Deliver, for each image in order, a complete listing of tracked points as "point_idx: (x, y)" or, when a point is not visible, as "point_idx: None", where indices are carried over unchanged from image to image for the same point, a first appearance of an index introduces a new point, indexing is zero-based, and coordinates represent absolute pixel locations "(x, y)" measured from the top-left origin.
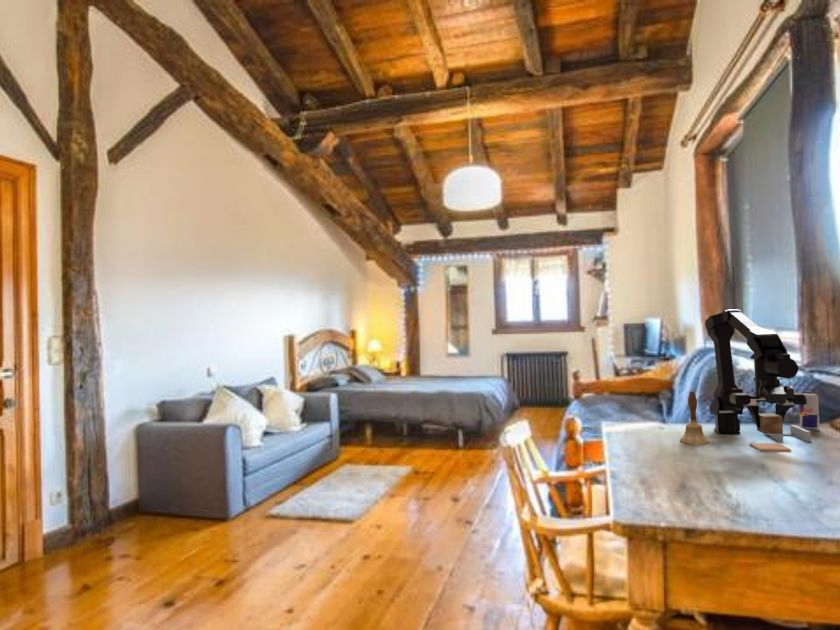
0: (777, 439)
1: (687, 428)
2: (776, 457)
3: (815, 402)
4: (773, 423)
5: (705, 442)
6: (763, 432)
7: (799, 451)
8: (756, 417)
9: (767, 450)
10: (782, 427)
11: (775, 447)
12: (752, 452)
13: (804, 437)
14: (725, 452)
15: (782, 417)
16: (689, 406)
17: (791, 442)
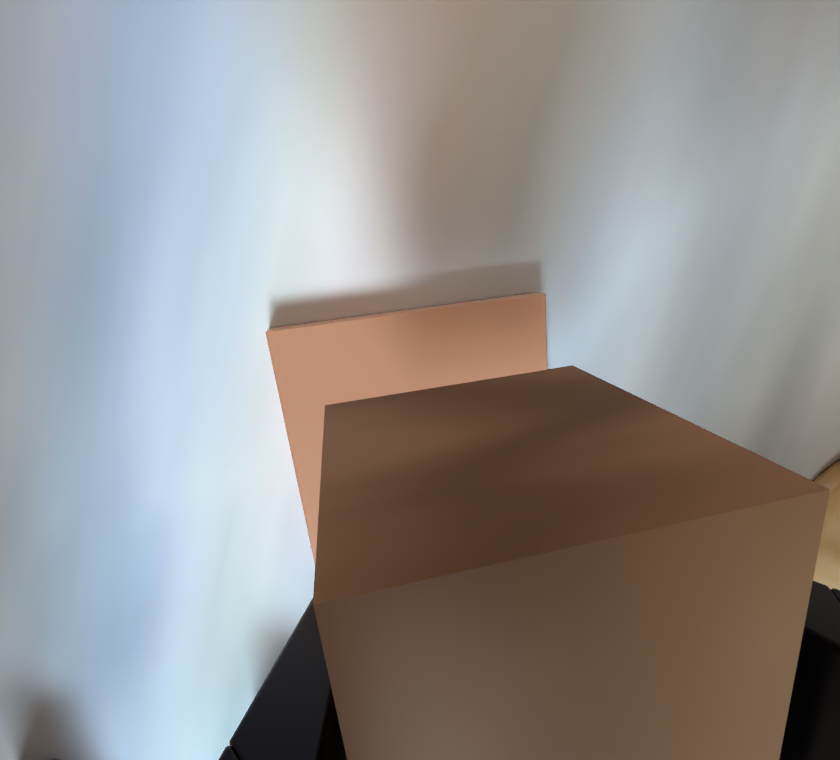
0: None
1: None
2: (469, 20)
3: None
4: (498, 449)
5: (836, 480)
6: (580, 376)
7: (185, 353)
8: (810, 593)
9: (478, 300)
10: (325, 444)
11: (390, 392)
12: (611, 231)
13: None
14: (814, 195)
15: (267, 733)
16: None
17: (193, 693)
